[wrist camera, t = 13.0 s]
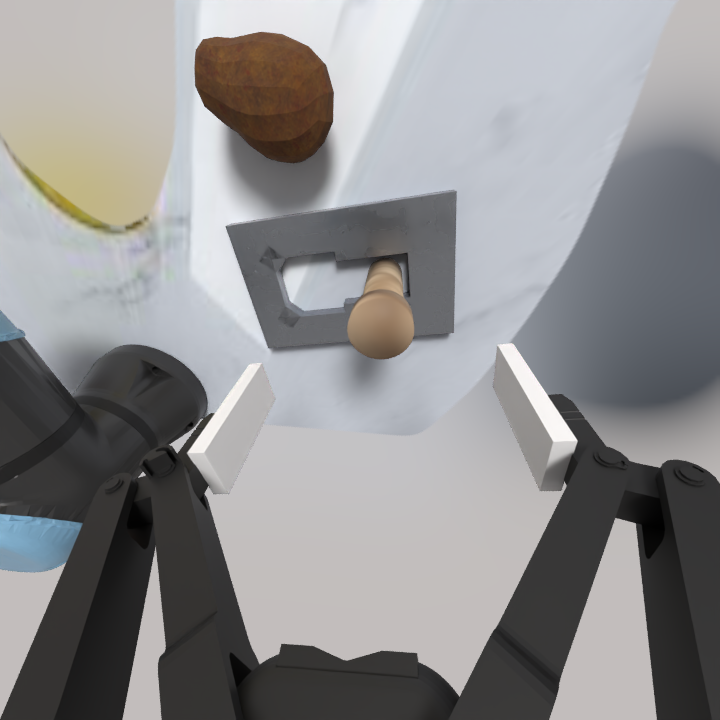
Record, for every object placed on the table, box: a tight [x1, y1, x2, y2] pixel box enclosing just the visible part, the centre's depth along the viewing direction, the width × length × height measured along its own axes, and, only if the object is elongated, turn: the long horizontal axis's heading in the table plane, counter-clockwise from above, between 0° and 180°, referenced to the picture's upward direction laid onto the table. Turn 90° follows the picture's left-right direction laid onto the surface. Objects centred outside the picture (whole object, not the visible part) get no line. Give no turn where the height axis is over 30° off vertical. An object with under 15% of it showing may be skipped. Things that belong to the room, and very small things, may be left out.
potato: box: [195, 32, 334, 163], centre depth 23 cm, size 7×10×8 cm
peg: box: [347, 258, 414, 359], centre depth 27 cm, size 5×5×13 cm
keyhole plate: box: [226, 190, 456, 348], centre depth 33 cm, size 22×14×2 cm, turn 98°
